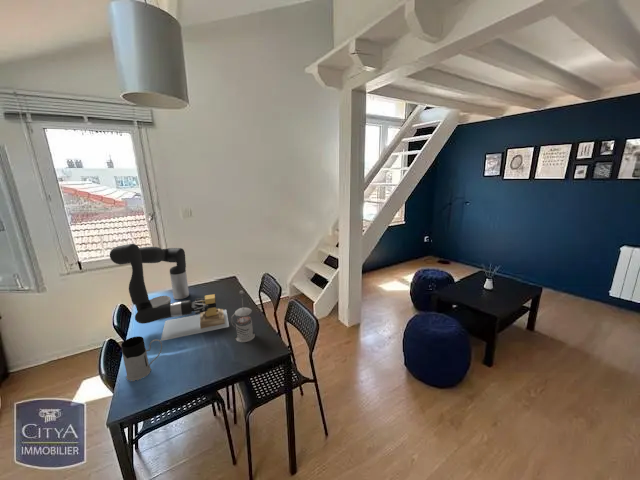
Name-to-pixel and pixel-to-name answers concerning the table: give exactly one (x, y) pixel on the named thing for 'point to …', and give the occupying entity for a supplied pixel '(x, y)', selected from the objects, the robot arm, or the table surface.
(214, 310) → the ochre pillar
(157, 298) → the teacup
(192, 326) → the white rectangular board
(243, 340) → the french press
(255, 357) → the table surface
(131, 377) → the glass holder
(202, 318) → the beech base slab
